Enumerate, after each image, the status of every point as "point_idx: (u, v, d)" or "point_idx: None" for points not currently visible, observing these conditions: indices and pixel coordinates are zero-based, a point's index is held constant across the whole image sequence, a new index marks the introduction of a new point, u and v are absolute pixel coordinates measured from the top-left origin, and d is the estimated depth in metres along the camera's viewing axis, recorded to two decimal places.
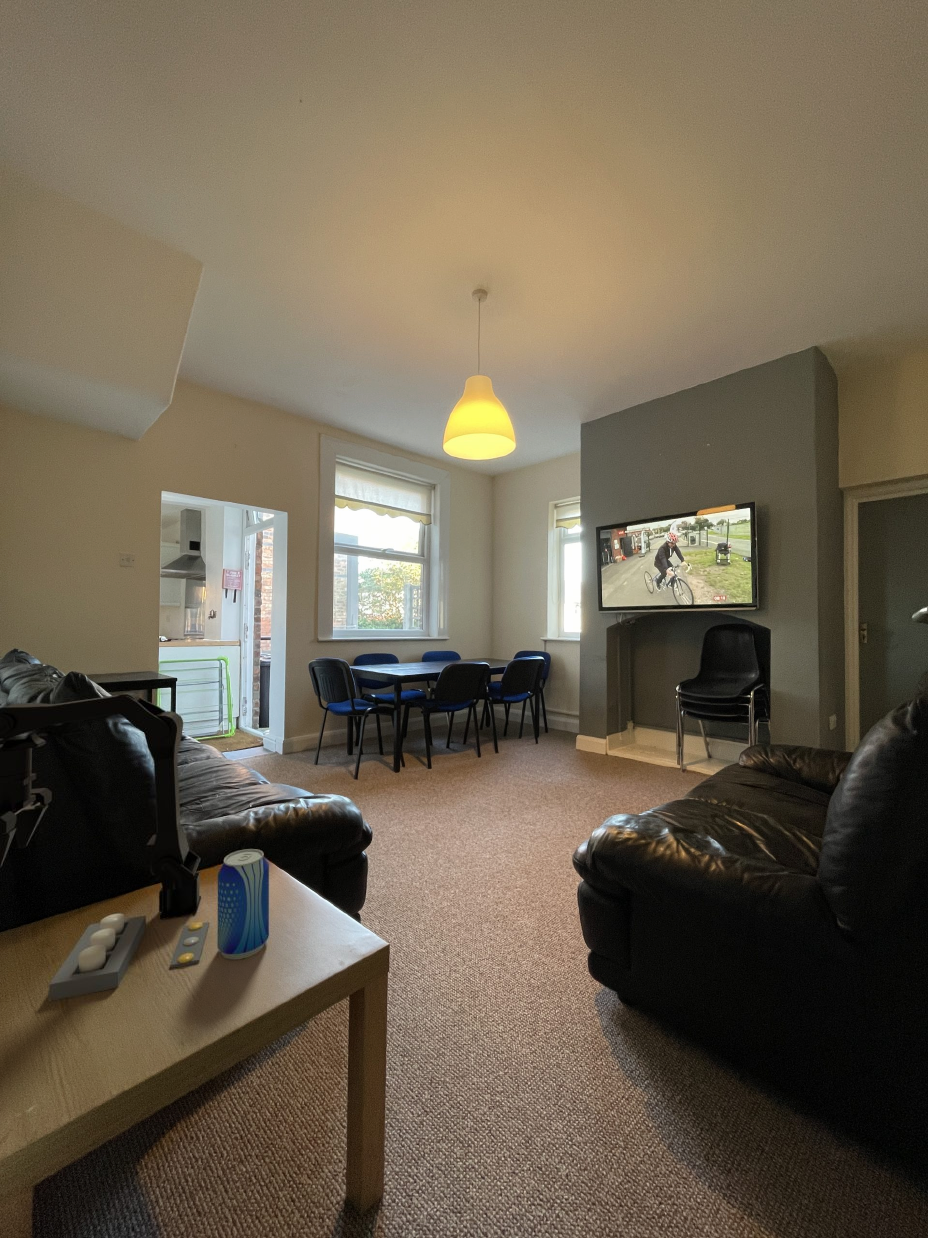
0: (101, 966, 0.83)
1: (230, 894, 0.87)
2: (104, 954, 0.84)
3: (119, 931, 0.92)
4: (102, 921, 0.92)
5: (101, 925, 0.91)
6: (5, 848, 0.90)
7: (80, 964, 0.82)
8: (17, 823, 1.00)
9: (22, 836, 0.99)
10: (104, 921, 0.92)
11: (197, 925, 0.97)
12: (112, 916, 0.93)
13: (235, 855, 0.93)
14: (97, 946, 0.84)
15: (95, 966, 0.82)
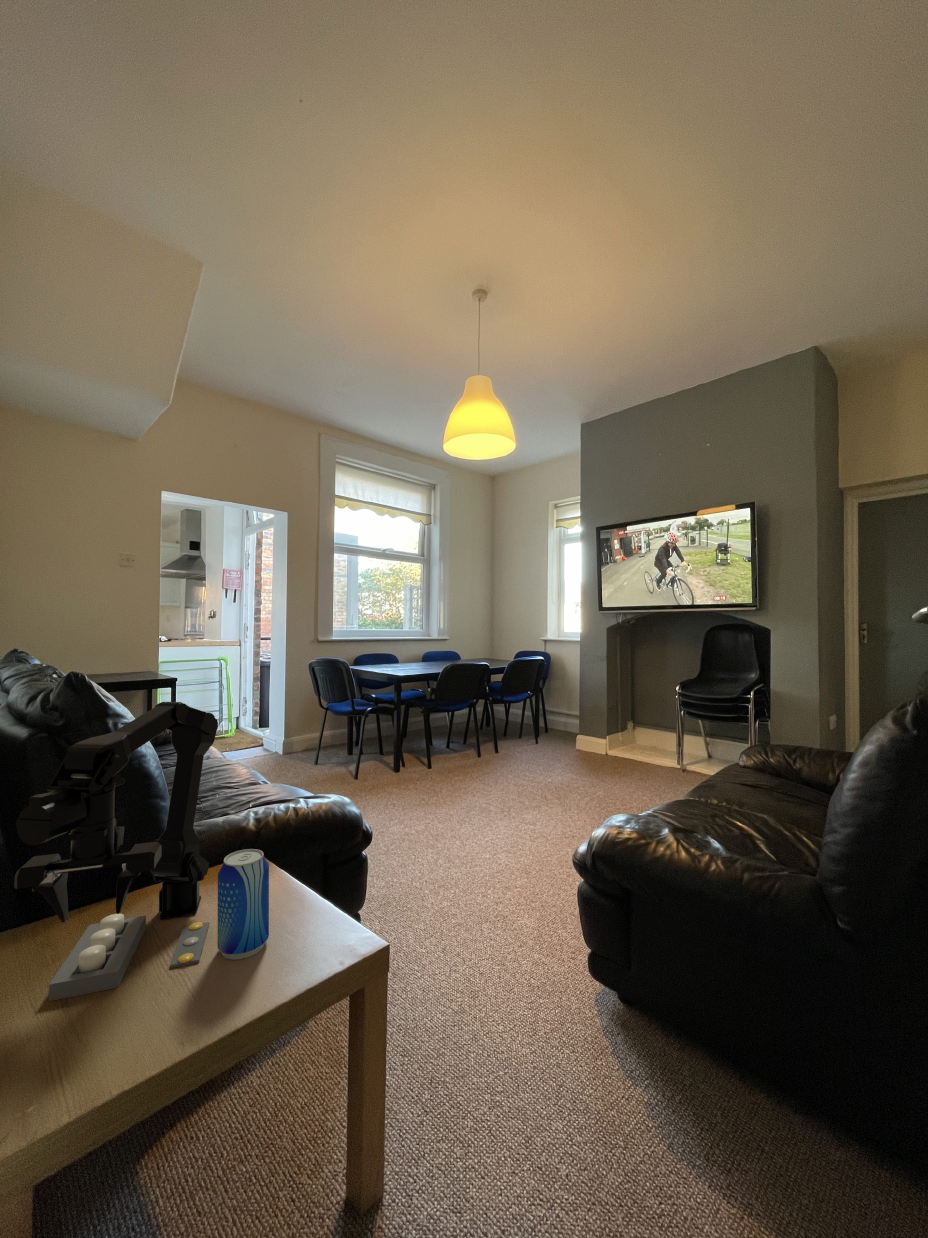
0: (101, 966, 0.83)
1: (230, 894, 0.87)
2: (104, 954, 0.84)
3: (119, 931, 0.92)
4: (102, 921, 0.92)
5: (101, 925, 0.91)
6: (50, 904, 0.80)
7: (80, 964, 0.82)
8: None
9: None
10: (104, 921, 0.92)
11: (197, 925, 0.97)
12: (112, 916, 0.93)
13: (235, 855, 0.93)
14: (97, 946, 0.84)
15: (95, 966, 0.82)
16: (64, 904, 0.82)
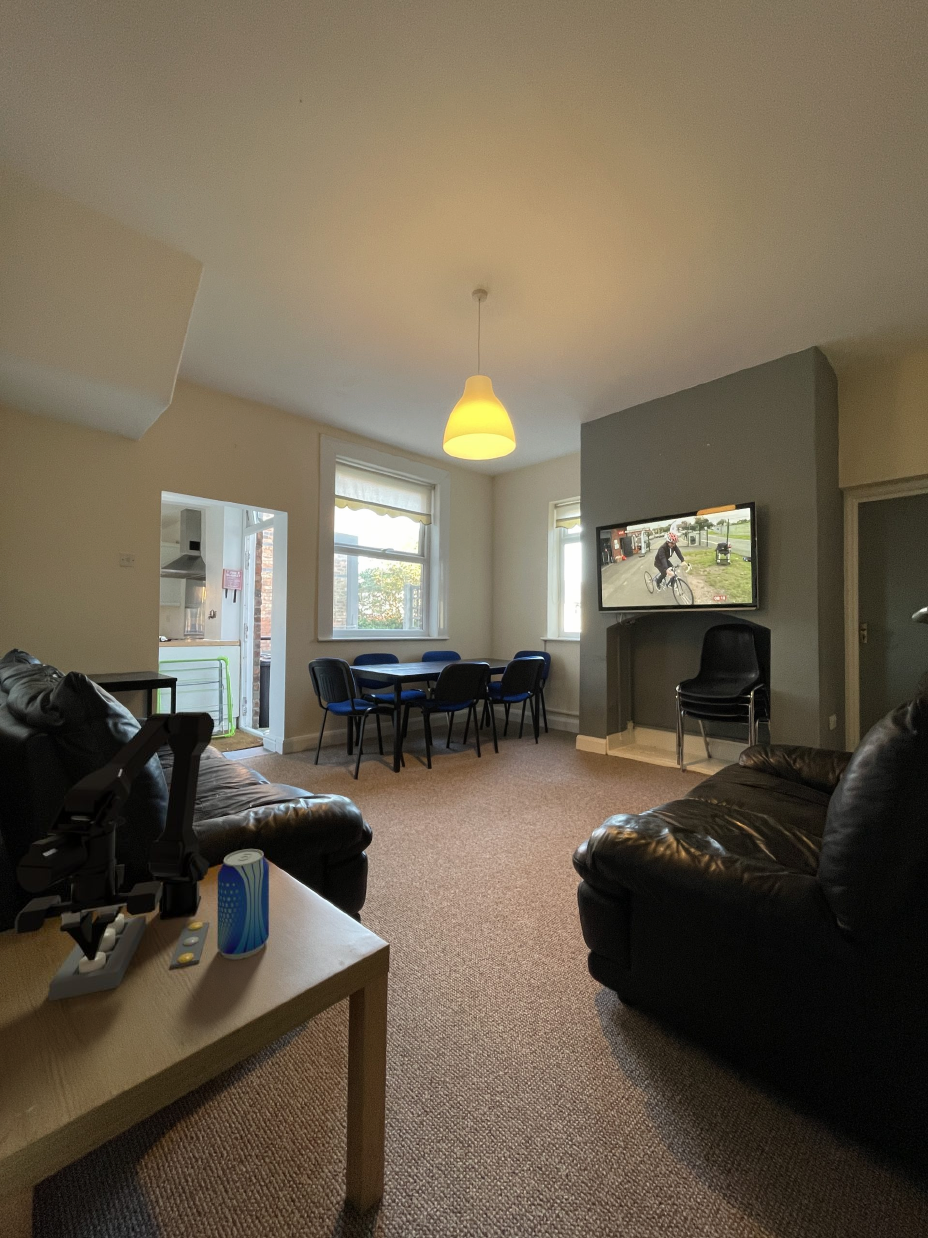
0: None
1: (230, 894, 0.87)
2: (104, 961, 0.84)
3: (119, 931, 0.92)
4: None
5: None
6: (77, 943, 0.81)
7: (80, 972, 0.82)
8: None
9: None
10: None
11: (197, 925, 0.97)
12: None
13: (235, 855, 0.93)
14: (97, 953, 0.84)
15: None
16: (90, 942, 0.83)
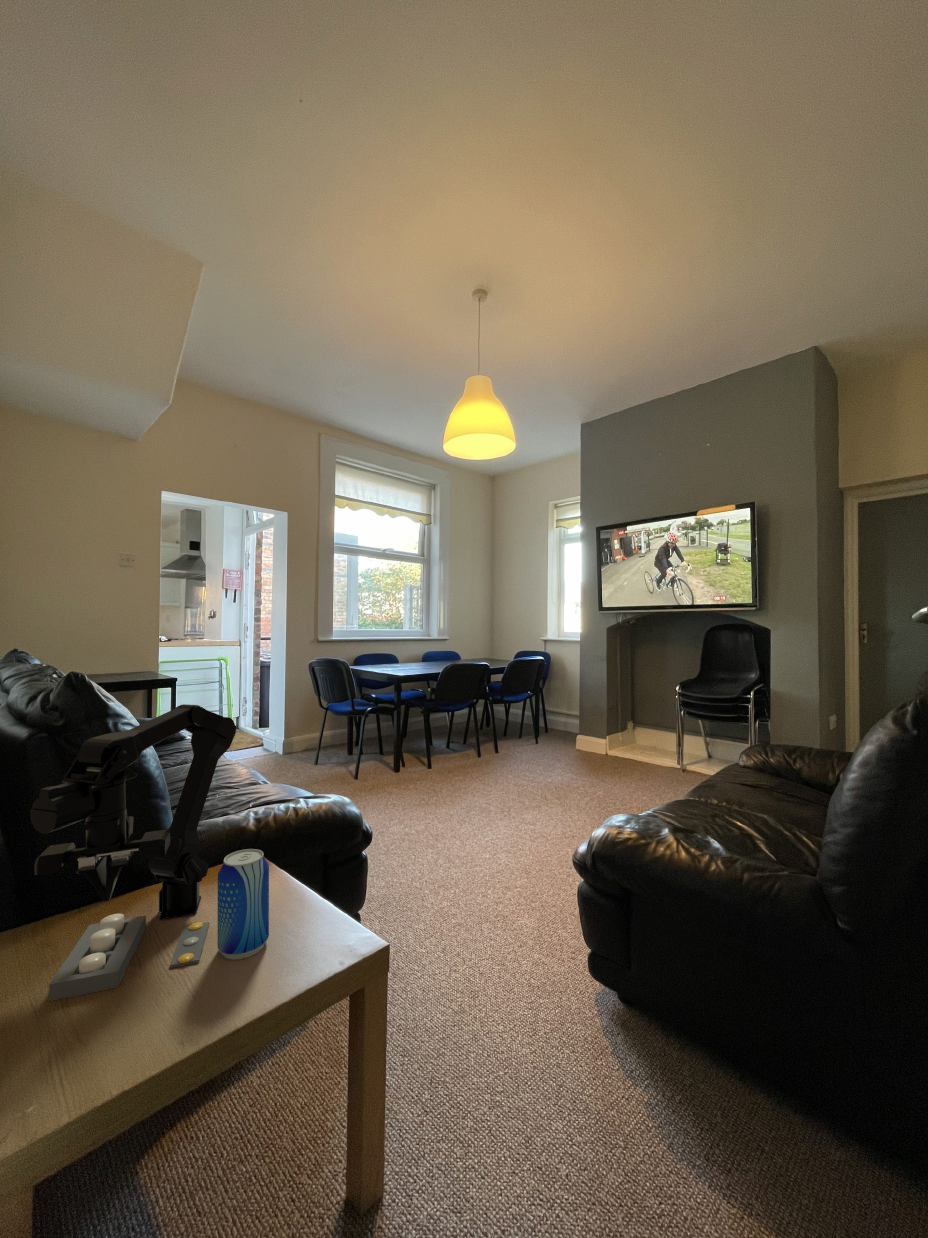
0: None
1: (230, 894, 0.87)
2: (104, 962, 0.84)
3: (119, 931, 0.92)
4: (102, 921, 0.92)
5: (101, 925, 0.91)
6: (93, 885, 0.87)
7: (80, 972, 0.82)
8: None
9: None
10: (104, 921, 0.92)
11: (197, 925, 0.97)
12: (112, 916, 0.93)
13: (235, 855, 0.93)
14: (97, 954, 0.84)
15: None
16: (105, 885, 0.89)
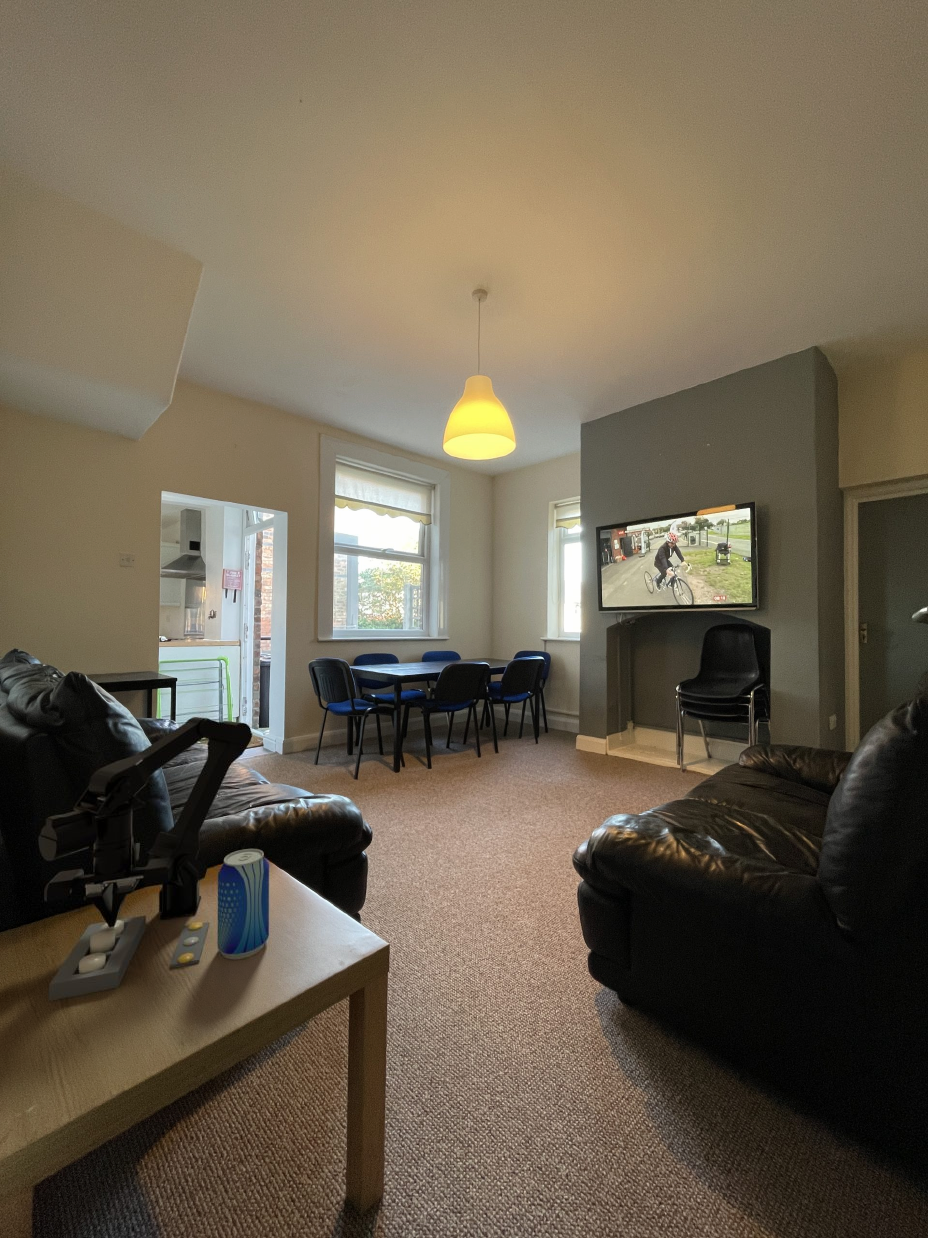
0: None
1: (230, 893, 0.87)
2: (104, 962, 0.84)
3: None
4: (102, 928, 0.92)
5: None
6: None
7: (80, 972, 0.82)
8: None
9: None
10: (104, 928, 0.92)
11: (197, 925, 0.97)
12: None
13: (235, 855, 0.93)
14: (97, 954, 0.84)
15: None
16: (111, 911, 0.92)
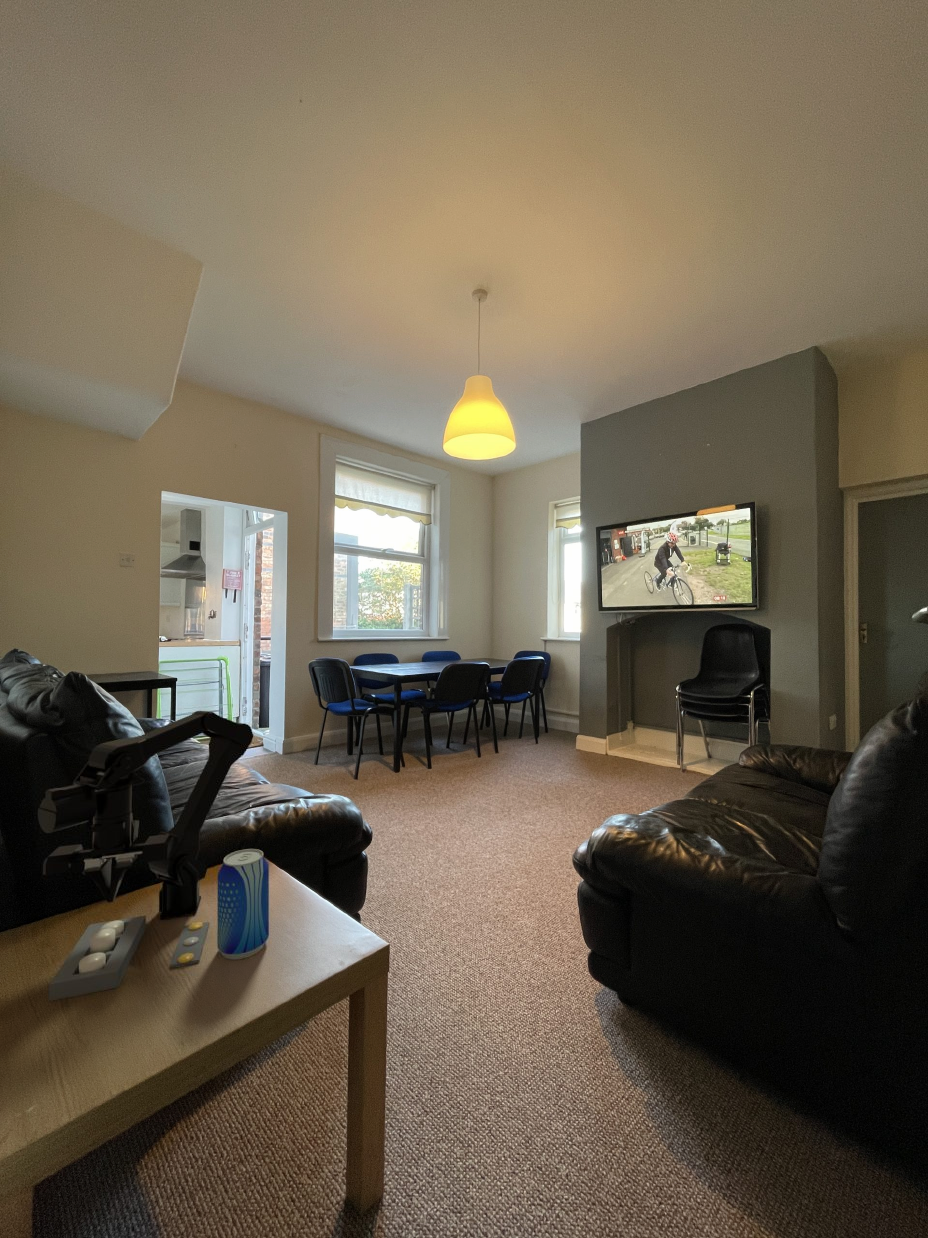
0: None
1: (230, 894, 0.87)
2: (104, 962, 0.84)
3: None
4: (102, 928, 0.92)
5: None
6: (98, 886, 0.90)
7: (80, 972, 0.82)
8: None
9: None
10: (104, 928, 0.92)
11: (197, 925, 0.97)
12: (112, 923, 0.93)
13: (235, 855, 0.93)
14: (97, 954, 0.84)
15: None
16: (109, 886, 0.92)
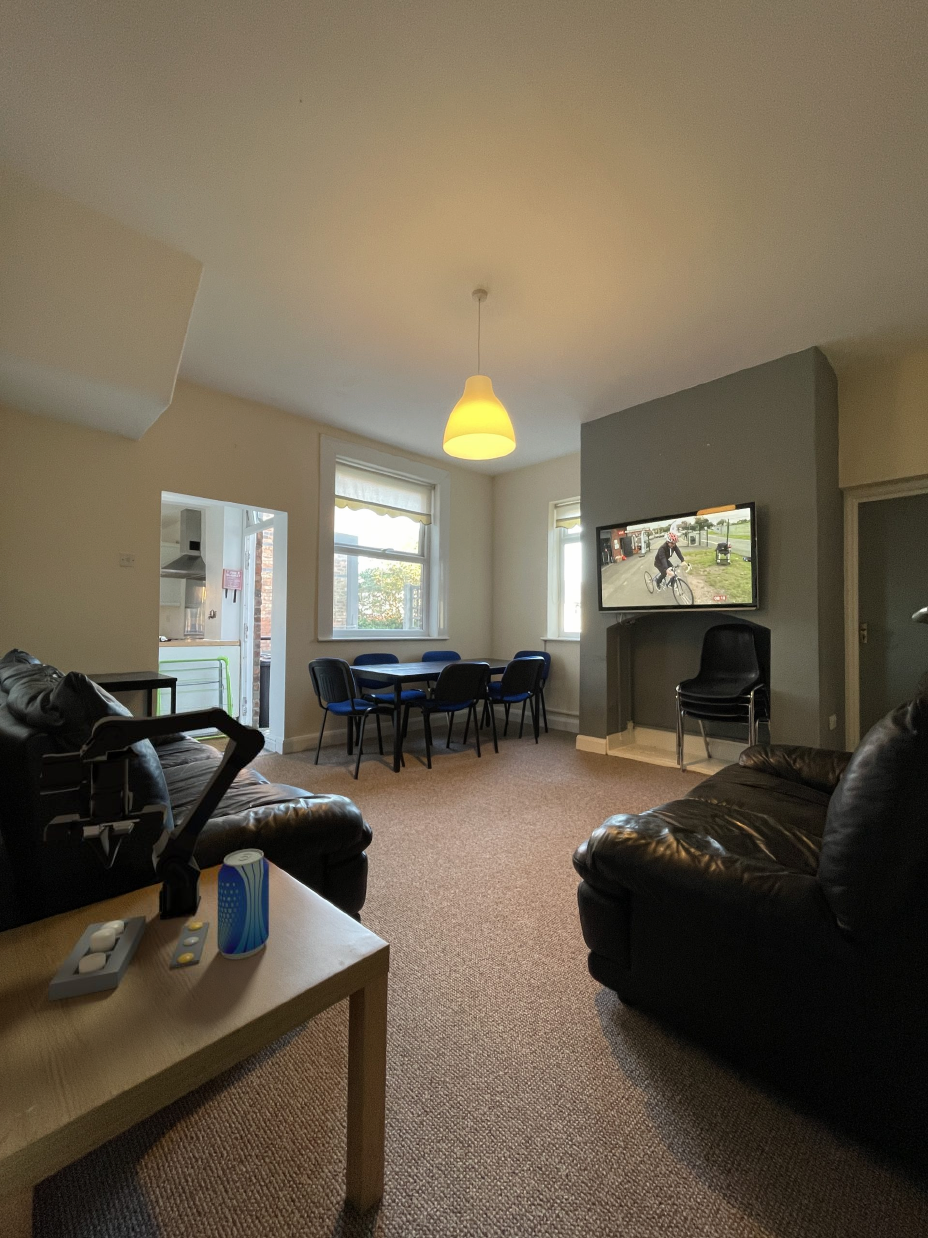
0: None
1: (230, 893, 0.87)
2: (104, 962, 0.84)
3: None
4: (102, 928, 0.92)
5: None
6: (97, 852, 0.95)
7: (80, 972, 0.82)
8: None
9: None
10: (104, 928, 0.92)
11: (197, 925, 0.97)
12: (112, 923, 0.93)
13: (235, 855, 0.93)
14: (97, 954, 0.84)
15: None
16: (107, 853, 0.97)
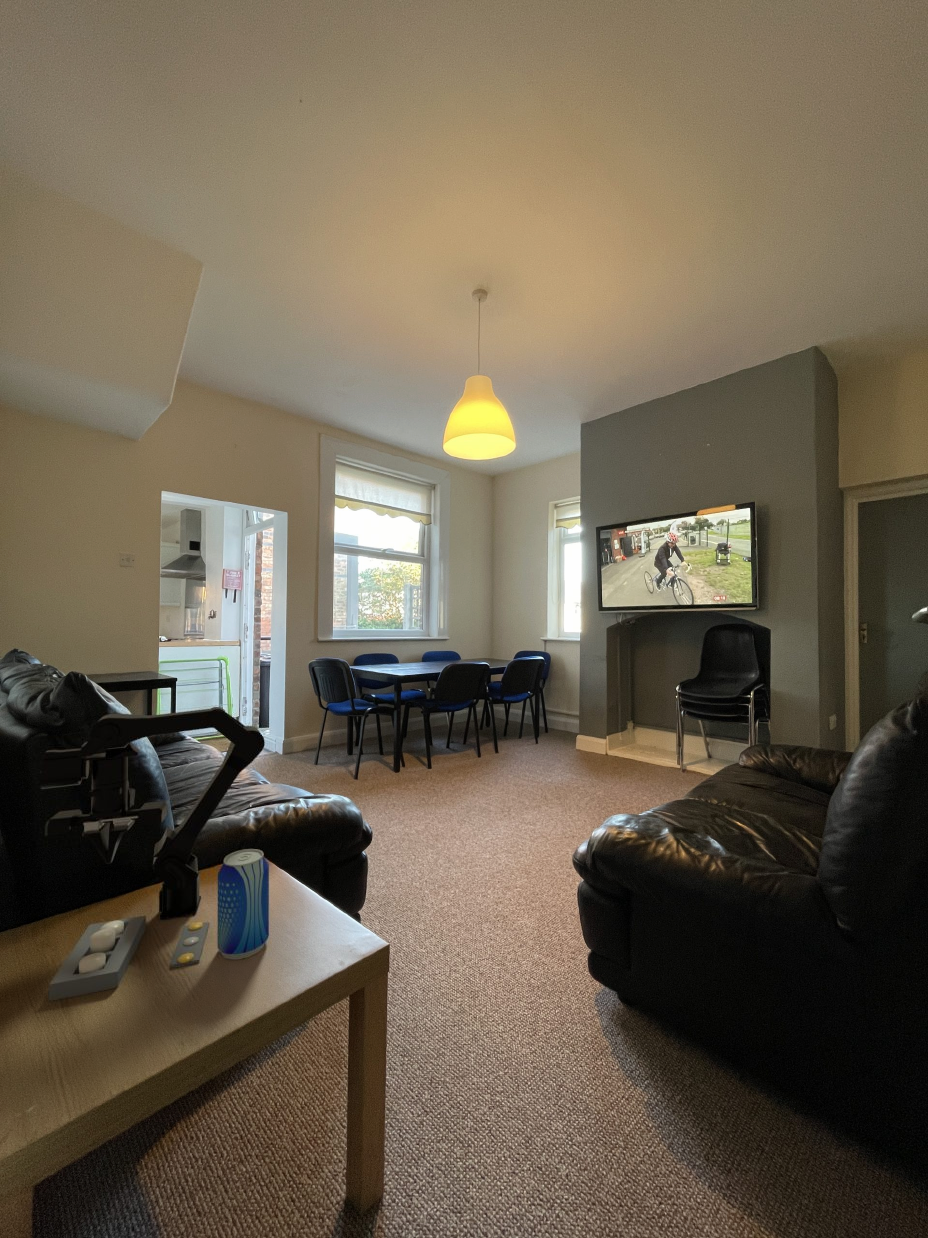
0: None
1: (230, 894, 0.87)
2: (104, 962, 0.84)
3: None
4: (102, 928, 0.92)
5: None
6: (97, 847, 0.97)
7: (80, 972, 0.82)
8: None
9: None
10: (104, 928, 0.92)
11: (197, 925, 0.97)
12: (112, 923, 0.93)
13: (235, 855, 0.93)
14: (97, 954, 0.84)
15: None
16: (107, 848, 0.98)
